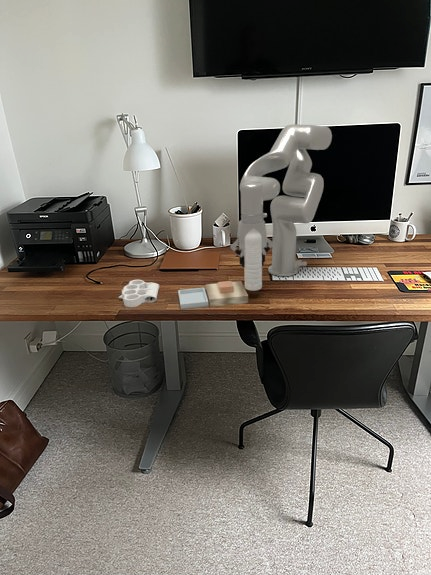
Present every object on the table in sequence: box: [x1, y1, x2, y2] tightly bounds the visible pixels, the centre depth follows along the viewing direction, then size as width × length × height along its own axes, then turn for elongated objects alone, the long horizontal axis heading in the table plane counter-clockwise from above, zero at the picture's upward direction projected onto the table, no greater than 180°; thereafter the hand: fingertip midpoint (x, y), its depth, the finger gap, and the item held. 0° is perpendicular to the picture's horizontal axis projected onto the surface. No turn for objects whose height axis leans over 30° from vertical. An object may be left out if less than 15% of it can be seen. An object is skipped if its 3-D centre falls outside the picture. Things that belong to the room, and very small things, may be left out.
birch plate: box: [204, 280, 249, 308], centre depth 168 cm, size 14×13×3 cm
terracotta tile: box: [217, 280, 234, 294], centre depth 167 cm, size 5×5×2 cm
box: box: [177, 287, 210, 310], centre depth 167 cm, size 10×12×2 cm
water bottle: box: [243, 229, 263, 292], centre depth 163 cm, size 9×6×25 cm
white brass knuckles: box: [118, 279, 160, 308], centre depth 172 cm, size 3×18×15 cm
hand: (252, 264), depth 164 cm, fingers closed on water bottle, 6 cm apart
